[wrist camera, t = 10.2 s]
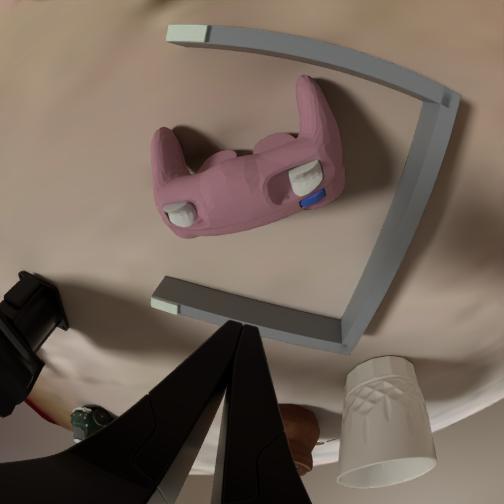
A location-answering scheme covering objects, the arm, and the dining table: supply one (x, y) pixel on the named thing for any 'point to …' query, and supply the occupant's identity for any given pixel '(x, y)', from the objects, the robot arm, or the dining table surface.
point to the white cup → (384, 426)
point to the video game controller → (252, 175)
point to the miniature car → (88, 422)
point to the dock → (399, 216)
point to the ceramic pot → (300, 434)
